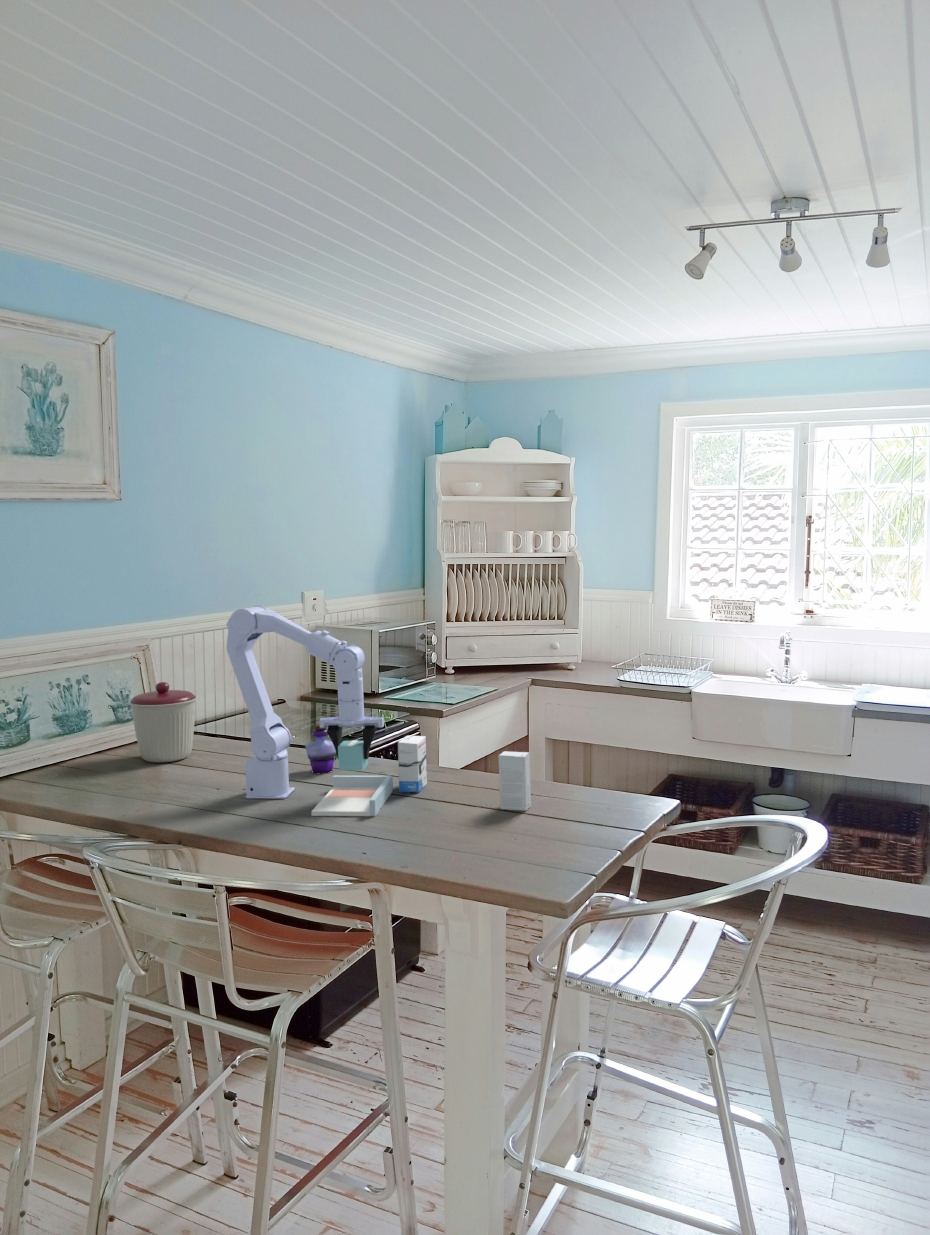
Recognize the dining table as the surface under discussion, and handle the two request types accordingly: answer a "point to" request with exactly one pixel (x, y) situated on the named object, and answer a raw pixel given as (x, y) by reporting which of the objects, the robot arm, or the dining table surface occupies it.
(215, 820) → the dining table surface
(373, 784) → the tray
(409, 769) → the ink box
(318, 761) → the potion bottle
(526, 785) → the skincare box
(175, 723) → the canister
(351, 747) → the cube
